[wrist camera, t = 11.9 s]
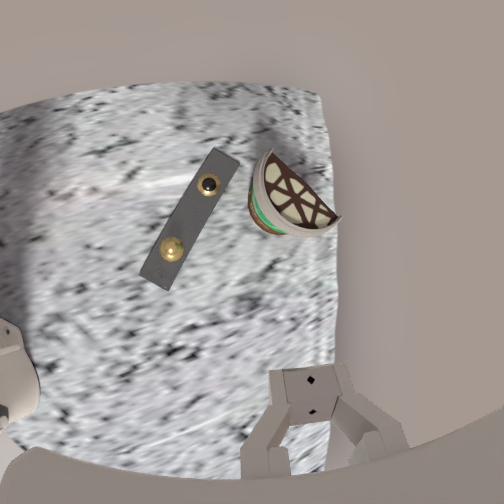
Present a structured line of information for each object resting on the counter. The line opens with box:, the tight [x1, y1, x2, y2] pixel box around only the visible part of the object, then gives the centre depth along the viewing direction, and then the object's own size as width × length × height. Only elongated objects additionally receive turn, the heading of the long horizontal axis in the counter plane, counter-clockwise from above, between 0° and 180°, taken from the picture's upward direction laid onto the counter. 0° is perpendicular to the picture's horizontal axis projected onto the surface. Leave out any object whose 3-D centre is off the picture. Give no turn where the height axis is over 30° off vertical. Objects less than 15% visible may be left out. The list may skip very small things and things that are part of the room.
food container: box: [248, 148, 343, 237], centre depth 37 cm, size 12×6×10 cm, turn 49°
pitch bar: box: [139, 149, 240, 291], centre depth 37 cm, size 4×20×4 cm, turn 152°
